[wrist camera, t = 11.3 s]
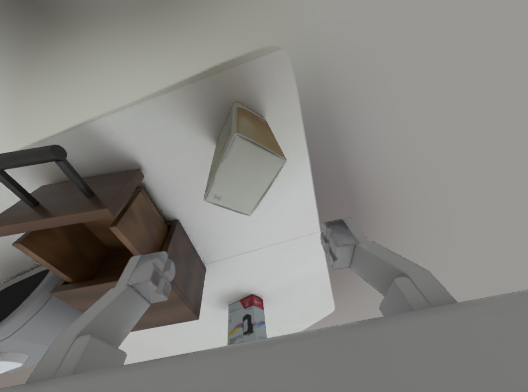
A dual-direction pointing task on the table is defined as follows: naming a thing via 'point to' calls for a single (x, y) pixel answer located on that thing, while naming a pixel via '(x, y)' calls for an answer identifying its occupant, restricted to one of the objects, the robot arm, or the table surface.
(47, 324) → the alarm clock
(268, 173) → the cosmetic box
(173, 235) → the cabinet
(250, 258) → the table surface
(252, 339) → the ink box
